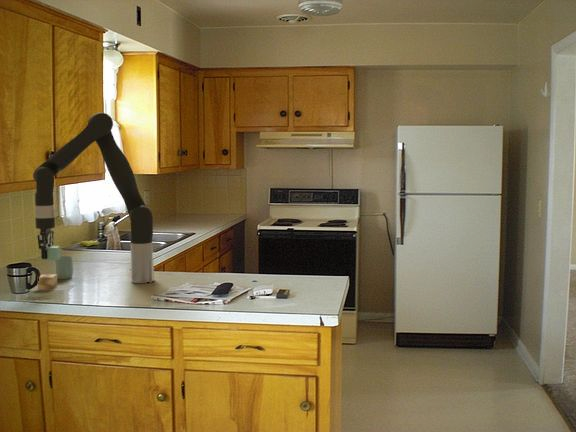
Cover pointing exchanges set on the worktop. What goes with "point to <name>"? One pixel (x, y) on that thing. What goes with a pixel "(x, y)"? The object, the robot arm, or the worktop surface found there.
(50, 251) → the teal block
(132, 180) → the robot arm
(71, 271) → the cup
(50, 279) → the oak block
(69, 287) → the pale flat slab
